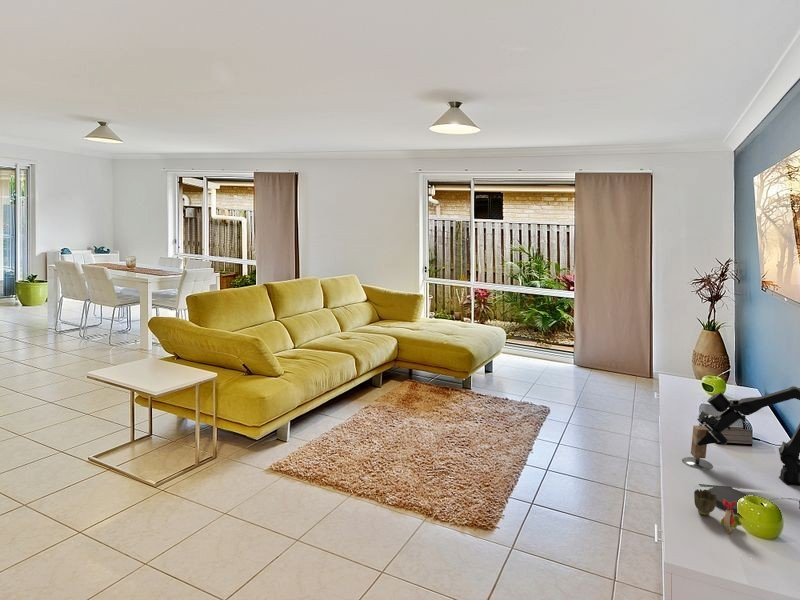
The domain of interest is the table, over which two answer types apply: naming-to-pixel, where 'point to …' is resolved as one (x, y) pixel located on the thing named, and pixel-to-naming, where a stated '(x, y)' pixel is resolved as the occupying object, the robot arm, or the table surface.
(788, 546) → the table surface
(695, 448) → the walnut block
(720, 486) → the rubber mat
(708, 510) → the cup
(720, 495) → the media streaming box
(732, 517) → the bird rattle
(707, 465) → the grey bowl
